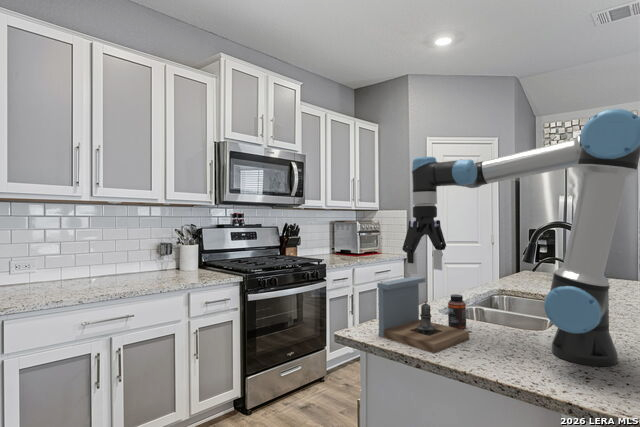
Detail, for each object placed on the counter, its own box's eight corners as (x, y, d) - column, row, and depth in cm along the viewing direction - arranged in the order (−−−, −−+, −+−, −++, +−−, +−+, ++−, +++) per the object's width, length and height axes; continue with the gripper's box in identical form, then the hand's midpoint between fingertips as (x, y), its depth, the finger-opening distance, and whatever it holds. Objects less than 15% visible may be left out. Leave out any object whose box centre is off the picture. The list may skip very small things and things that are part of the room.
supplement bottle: (466, 326, 138) (466, 294, 138) (465, 330, 133) (465, 297, 133) (449, 324, 141) (448, 293, 141) (447, 328, 135) (446, 296, 135)
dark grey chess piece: (436, 342, 121) (436, 303, 121) (417, 340, 123) (416, 302, 123) (434, 336, 127) (434, 299, 127) (416, 335, 128) (416, 298, 128)
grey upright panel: (425, 327, 137) (425, 277, 137) (388, 339, 124) (387, 284, 124) (415, 324, 140) (414, 276, 140) (377, 336, 127) (377, 283, 127)
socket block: (469, 339, 124) (468, 331, 124) (434, 353, 112) (434, 344, 112) (419, 326, 138) (419, 319, 138) (383, 337, 126) (383, 329, 126)
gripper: (436, 206, 136) (437, 266, 136) (390, 205, 120) (391, 274, 120) (456, 205, 130) (457, 268, 130) (410, 204, 114) (411, 277, 114)
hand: (425, 271), depth 125 cm, fingers open, 13 cm apart
